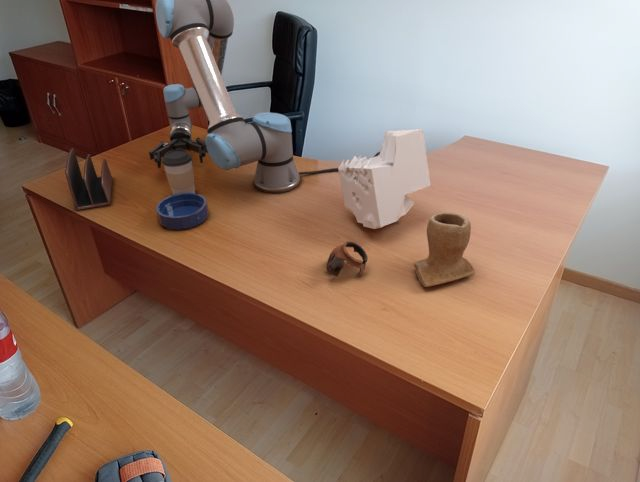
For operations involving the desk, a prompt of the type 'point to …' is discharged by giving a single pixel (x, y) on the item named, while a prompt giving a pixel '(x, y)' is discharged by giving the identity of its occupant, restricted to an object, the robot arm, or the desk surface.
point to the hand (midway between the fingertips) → (179, 161)
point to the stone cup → (445, 250)
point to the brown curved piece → (341, 254)
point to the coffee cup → (179, 171)
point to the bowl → (182, 211)
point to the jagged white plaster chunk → (385, 179)
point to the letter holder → (88, 183)
